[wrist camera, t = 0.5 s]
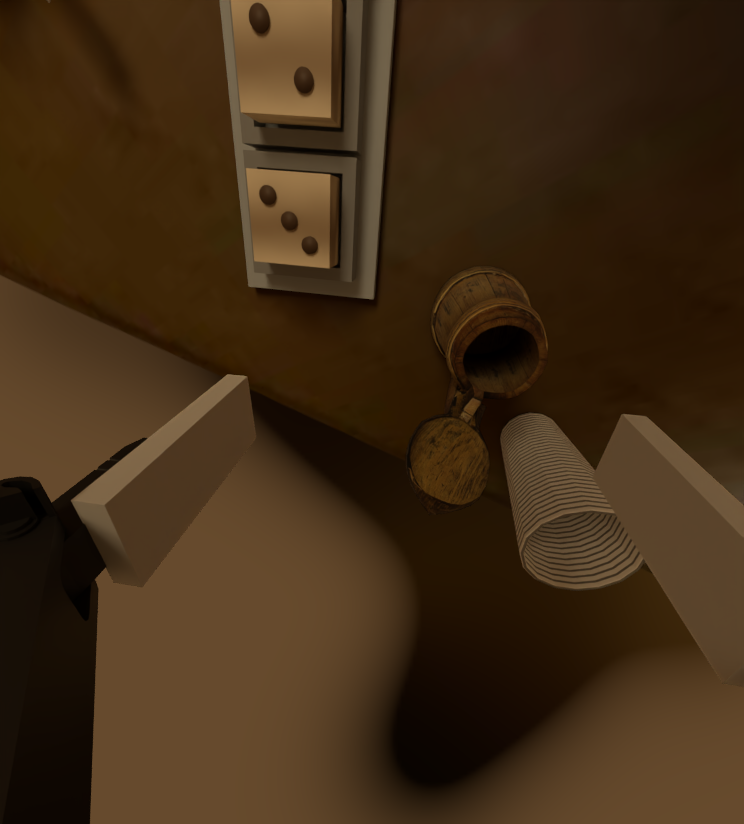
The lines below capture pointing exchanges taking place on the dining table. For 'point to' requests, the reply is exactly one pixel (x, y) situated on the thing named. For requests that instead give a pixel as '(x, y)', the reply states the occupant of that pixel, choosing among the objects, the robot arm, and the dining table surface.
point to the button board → (328, 154)
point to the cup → (562, 510)
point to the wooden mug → (473, 381)
